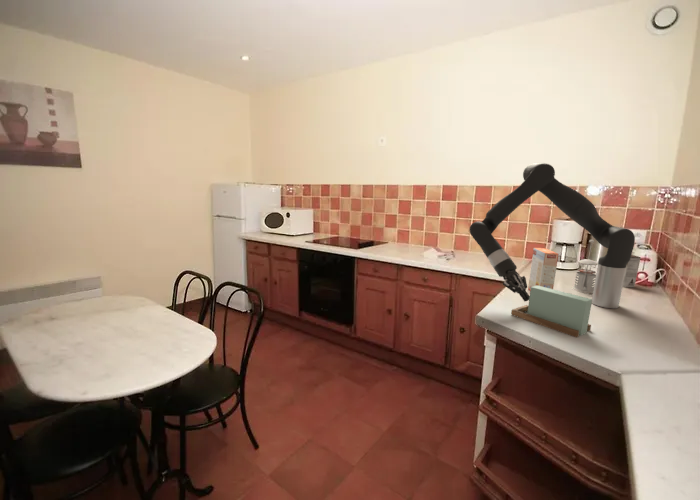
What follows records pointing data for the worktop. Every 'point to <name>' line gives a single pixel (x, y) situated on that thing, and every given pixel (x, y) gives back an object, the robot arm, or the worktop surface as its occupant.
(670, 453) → the worktop surface
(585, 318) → the pale green rectangular block
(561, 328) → the open frame
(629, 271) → the coffee box
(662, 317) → the worktop surface
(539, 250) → the cracker box
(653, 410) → the worktop surface
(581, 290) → the french press
